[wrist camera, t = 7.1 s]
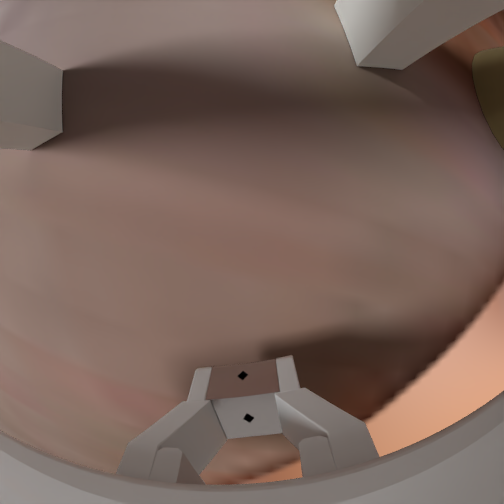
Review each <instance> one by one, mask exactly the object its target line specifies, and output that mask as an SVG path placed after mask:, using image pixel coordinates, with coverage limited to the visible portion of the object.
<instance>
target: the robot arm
mask: <svg viewBox="0 0 504 504" xmlns="http://www.w3.org/2000/svg"><path fill="white" fill-rule="evenodd" d="M278 433H283V435H284V436H285V437H286V438H287V439H288V440H289V441H290V442H291V443H292V444H293V445H294V446H295V447H296V448H297V449H298V450H299V451H300V459H301V468H302V476H303V477H302V478H296V479H290V480H283V481H275V482H266V483H254V484H236V485H206V484H205V483H204V481H203V480H202V479H201V477H200V476H199V474H200V473H201V472H202V471H203V470H204V468H205V467H206V466H207V465H208V464H209V462H210V461H211V460H212V459H213V457H214V456H215V455H216V454H217V452H218V451H219V450H220V449H221V447H222V446H223V445H224V443H225V442H226V441H227V439H230V438H241V437H250V436H259V435H269V434H278ZM0 504H504V391H503V392H501V393H500V394H499V395H497V396H496V397H495V398H493V399H492V400H490V401H489V402H488V403H486V404H485V405H483V406H482V407H480V408H479V409H477V410H476V411H474V412H472V413H471V414H469V415H468V416H466V417H464V418H463V419H461V420H459V421H458V422H456V423H454V424H452V425H451V426H449V427H447V428H445V429H443V430H441V431H439V432H437V433H435V434H433V435H431V436H429V437H427V438H425V439H423V440H421V441H419V442H416V443H414V444H412V445H410V446H407V447H405V448H402V449H400V450H398V451H395V452H393V453H390V454H387V455H384V456H382V457H379V455H378V453H377V450H376V448H375V445H374V443H373V441H372V438H371V436H370V433H369V431H368V429H367V427H366V424H365V422H363V421H361V420H359V419H357V418H356V417H354V416H352V415H350V414H348V413H347V412H345V411H343V410H341V409H340V408H338V407H336V406H335V405H333V404H331V403H330V402H328V401H326V400H325V399H323V398H321V397H320V396H318V395H316V394H315V393H313V392H312V391H310V390H308V389H307V388H300V385H299V380H298V376H297V372H296V368H295V363H294V359H293V356H292V355H289V356H284V357H280V358H276V359H271V360H265V361H259V362H253V363H246V364H234V365H224V366H213V367H201V368H197V369H196V370H195V374H194V377H193V381H192V385H191V388H190V392H189V395H188V399H187V401H182V402H181V403H180V404H179V405H177V406H176V407H175V408H174V409H172V410H171V411H170V412H169V413H167V414H166V415H165V416H163V417H162V418H161V419H160V420H158V421H157V422H156V423H154V424H153V425H152V426H150V427H149V428H148V429H146V430H145V431H144V432H142V433H141V434H140V435H138V436H137V437H136V438H134V439H133V440H131V441H130V442H129V443H128V445H127V447H126V450H125V452H124V455H123V457H122V460H121V462H120V465H119V467H118V469H117V472H116V474H114V473H110V472H106V471H102V470H98V469H94V468H91V467H87V466H84V465H81V464H77V463H74V462H71V461H68V460H66V459H63V458H60V457H57V456H55V455H52V454H49V453H47V452H44V451H42V450H40V449H37V448H35V447H33V446H31V445H28V444H26V443H24V442H22V441H20V440H18V439H16V438H14V437H12V436H10V435H8V434H6V433H5V432H3V431H1V430H0Z"/></svg>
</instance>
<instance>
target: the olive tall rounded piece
mask: <svg viewBox="0 0 504 504" xmlns="http://www.w3.org/2000/svg"><path fill="white" fill-rule="evenodd" d="M472 72H473V81H474V85H475V89H476V94H477V97H478V100H479V103H480V105H481V108H482V111H483V114H484V116H485V118H486V120H487V122H488V124H489V127H490V129H491V131H492V133H493V135H494V136H495V138H496V139H497V141H498V142H499V144H500V145H501V147H502V148H503V149H504V46H503V47H498V48H493V49H488V50H483V51H480V52H479V53H477V54H475V56H474V59H473V62H472Z"/></svg>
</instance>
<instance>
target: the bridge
mask: <svg viewBox="0 0 504 504" xmlns="http://www.w3.org/2000/svg"><path fill="white" fill-rule="evenodd" d="M334 7H335V9H336V11H337V14H338V16H339V18H340V21H341V23H342V26H343V28H344V31H345V33H346V36H347V39H348V41H349V44H350V47H351V50H352V53H353V56H354V59H355V62H356V65H357V66H365V67H379V68H390V69H399V70H403V69H404V68H406V67H407V66H409V65H410V64H412V63H413V62H415V61H416V60H418V59H419V58H421V57H422V56H424V55H426V54H427V53H429V52H430V51H432V50H433V49H435V48H437V47H438V46H440V45H441V44H443V43H445V42H446V41H448V40H449V39H451V38H453V37H454V36H456V35H458V34H459V33H461V32H463V31H465V30H466V29H468V28H470V27H472V26H473V25H475V24H477V23H479V22H480V21H482V20H484V19H486V18H488V17H490V16H492V15H493V14H495V13H497V12H499V11H501V10H503V9H504V0H337V1H336V3H335V5H334ZM62 76H63V70H61V69H60V68H58V67H56V66H54V65H52V64H50V63H48V62H46V61H44V60H42V59H40V58H38V57H36V56H33V55H31V54H29V53H27V52H25V51H23V50H21V49H18V48H16V47H14V46H12V45H10V44H7V43H5V42H3V41H0V149H16V150H30V151H31V150H32V149H34V148H36V147H37V146H39V145H41V144H42V143H44V142H46V141H48V140H49V139H51V138H53V137H55V136H57V135H58V134H60V133H62V132H63V130H62Z"/></svg>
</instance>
